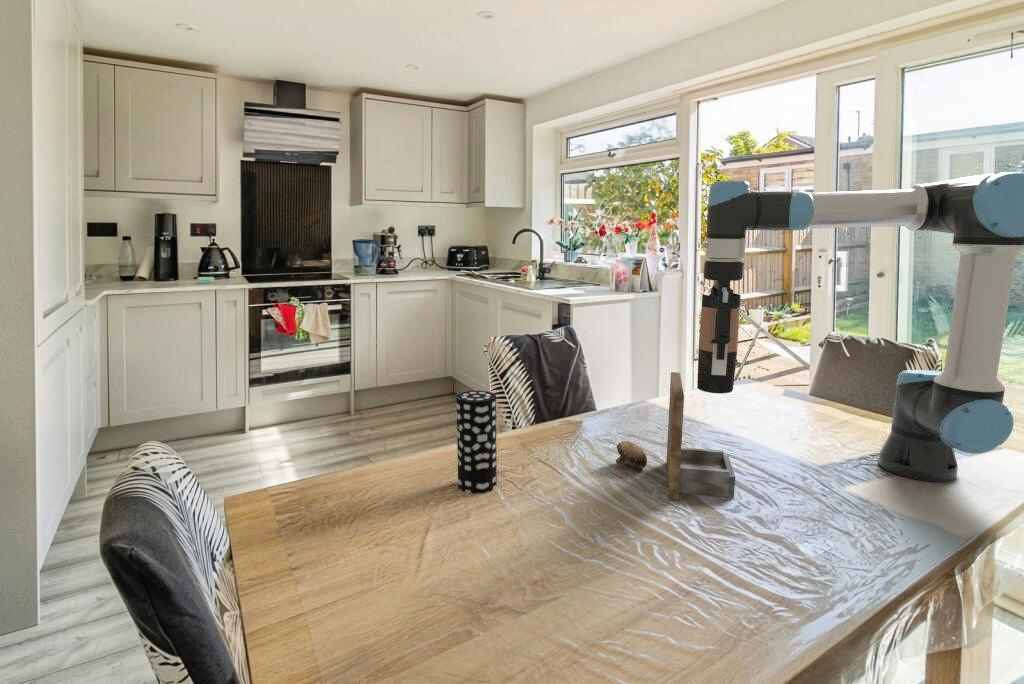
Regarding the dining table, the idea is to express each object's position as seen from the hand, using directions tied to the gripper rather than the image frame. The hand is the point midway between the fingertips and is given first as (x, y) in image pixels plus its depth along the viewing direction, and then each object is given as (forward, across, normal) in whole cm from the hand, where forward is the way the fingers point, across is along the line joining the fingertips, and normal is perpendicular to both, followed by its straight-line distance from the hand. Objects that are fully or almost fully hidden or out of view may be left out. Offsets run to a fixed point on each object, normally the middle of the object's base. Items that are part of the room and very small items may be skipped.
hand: (716, 369), depth 129 cm
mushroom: (+26, -6, -17) cm, 31 cm away
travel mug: (+4, 0, 0) cm, 4 cm away
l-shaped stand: (+25, 0, -2) cm, 25 cm away
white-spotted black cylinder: (+26, +12, -49) cm, 56 cm away
